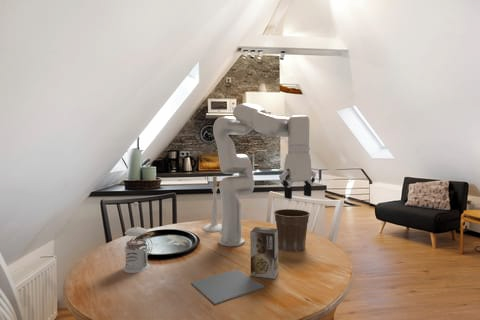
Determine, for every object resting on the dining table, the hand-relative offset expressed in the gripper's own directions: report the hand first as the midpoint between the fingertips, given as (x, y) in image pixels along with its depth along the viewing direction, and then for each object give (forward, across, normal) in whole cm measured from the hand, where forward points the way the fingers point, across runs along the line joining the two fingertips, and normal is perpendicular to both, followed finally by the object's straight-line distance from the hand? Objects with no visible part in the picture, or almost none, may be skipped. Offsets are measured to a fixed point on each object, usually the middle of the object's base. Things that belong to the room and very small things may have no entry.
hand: (298, 197), depth 107 cm
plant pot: (+28, -16, -20) cm, 38 cm away
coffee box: (+28, +11, -5) cm, 30 cm away
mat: (+28, +27, -5) cm, 39 cm away
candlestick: (+28, -2, -66) cm, 72 cm away
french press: (+28, +48, -36) cm, 66 cm away
